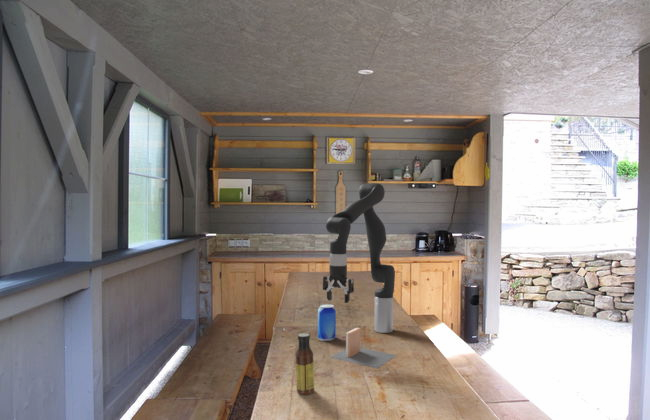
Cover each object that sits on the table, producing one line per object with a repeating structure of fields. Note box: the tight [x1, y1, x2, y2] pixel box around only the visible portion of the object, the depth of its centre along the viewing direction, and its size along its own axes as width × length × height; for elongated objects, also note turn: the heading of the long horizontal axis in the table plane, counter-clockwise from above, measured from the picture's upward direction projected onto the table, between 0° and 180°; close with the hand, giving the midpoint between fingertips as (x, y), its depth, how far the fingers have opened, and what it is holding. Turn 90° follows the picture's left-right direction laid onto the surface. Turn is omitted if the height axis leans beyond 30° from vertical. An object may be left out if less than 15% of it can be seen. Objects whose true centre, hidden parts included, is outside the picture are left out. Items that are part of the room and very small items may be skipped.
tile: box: [345, 327, 361, 357], centre depth 196 cm, size 9×2×10 cm, turn 147°
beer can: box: [317, 303, 337, 342], centre depth 217 cm, size 8×8×16 cm
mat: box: [329, 347, 398, 369], centre depth 193 cm, size 18×22×1 cm
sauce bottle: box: [295, 332, 315, 396], centre depth 159 cm, size 7×6×20 cm
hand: (338, 301), depth 200 cm, fingers open, 8 cm apart
